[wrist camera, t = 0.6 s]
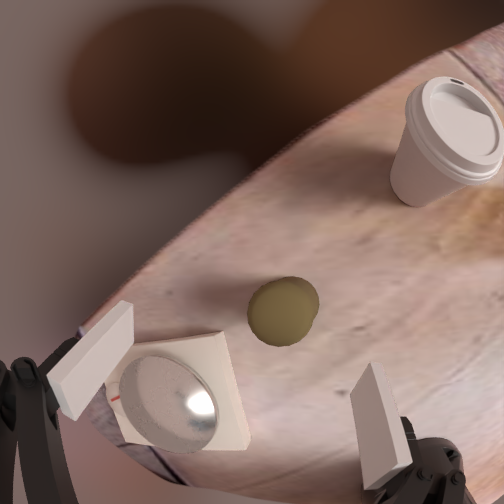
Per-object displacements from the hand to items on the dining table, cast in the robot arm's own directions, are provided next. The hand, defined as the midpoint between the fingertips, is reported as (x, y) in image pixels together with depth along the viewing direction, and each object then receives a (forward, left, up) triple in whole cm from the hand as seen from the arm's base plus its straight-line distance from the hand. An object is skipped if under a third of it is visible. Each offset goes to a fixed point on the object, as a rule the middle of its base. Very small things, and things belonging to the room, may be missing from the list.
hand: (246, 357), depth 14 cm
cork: (+1, -1, -17) cm, 17 cm away
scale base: (-8, +17, -17) cm, 25 cm away
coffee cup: (+11, -19, -17) cm, 28 cm away
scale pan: (-8, +15, -13) cm, 21 cm away
